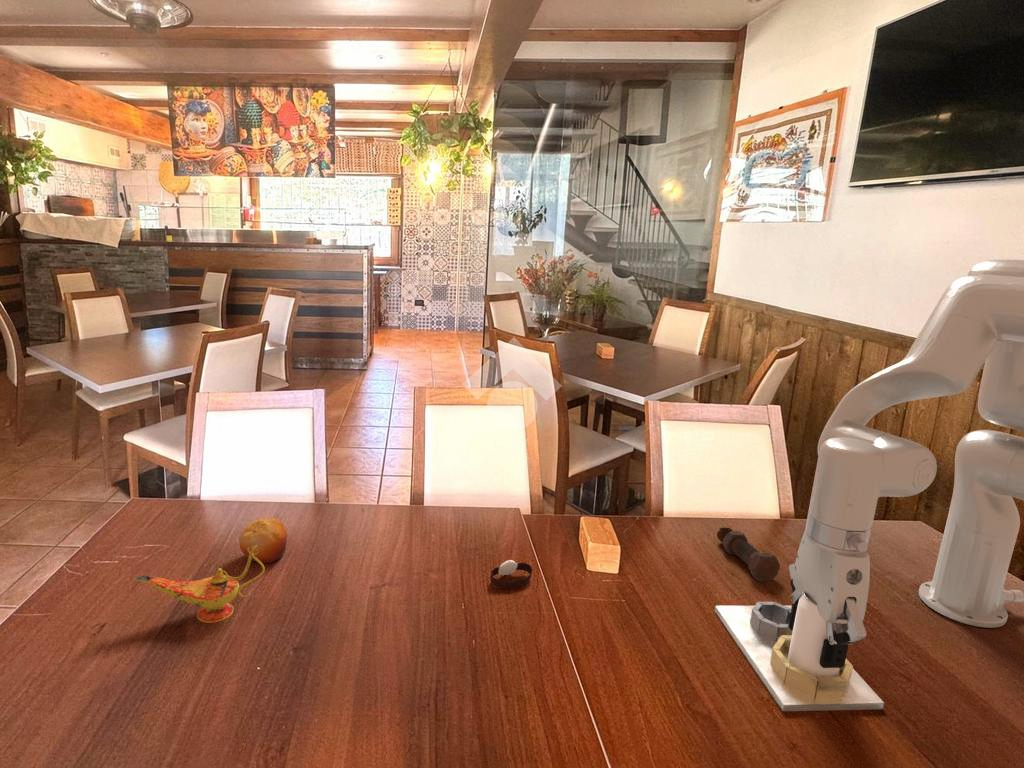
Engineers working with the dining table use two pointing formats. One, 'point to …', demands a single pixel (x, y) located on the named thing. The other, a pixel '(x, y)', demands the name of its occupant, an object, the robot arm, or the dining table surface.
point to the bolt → (749, 555)
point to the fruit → (264, 539)
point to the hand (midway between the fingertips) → (814, 646)
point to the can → (810, 639)
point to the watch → (507, 569)
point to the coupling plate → (791, 688)
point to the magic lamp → (206, 591)
